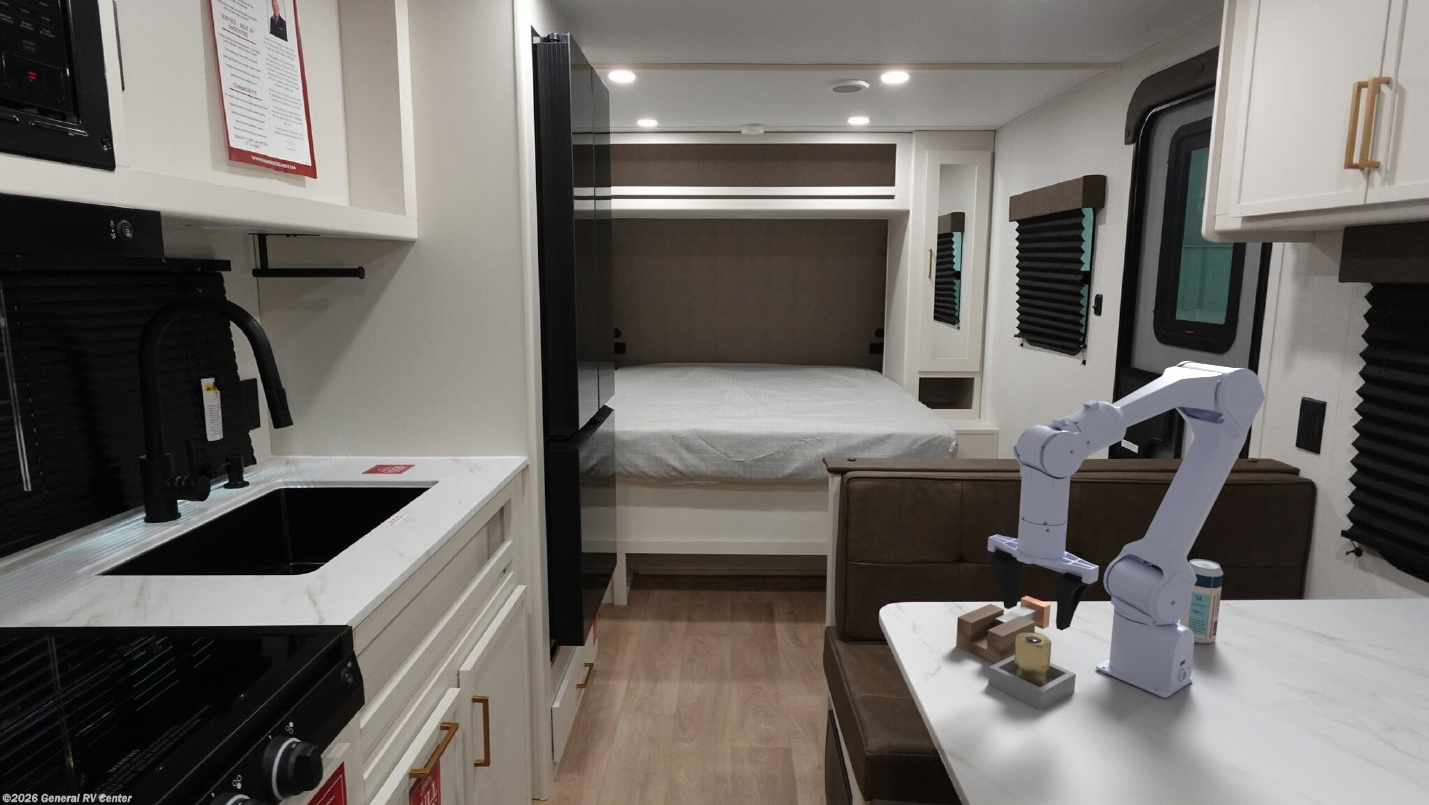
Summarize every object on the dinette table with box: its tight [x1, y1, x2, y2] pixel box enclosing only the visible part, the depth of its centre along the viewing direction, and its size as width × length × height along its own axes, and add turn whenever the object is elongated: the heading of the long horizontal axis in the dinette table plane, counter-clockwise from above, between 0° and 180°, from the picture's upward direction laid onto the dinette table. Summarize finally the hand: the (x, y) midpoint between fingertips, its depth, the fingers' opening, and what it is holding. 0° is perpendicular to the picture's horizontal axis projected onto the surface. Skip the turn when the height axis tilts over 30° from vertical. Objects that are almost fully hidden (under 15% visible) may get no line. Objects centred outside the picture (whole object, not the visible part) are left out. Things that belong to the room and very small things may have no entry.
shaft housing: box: [955, 603, 1036, 665], centre depth 113 cm, size 8×8×5 cm
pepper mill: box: [1014, 632, 1052, 687], centre depth 102 cm, size 4×4×6 cm
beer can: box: [1179, 558, 1224, 645], centre depth 116 cm, size 5×5×12 cm
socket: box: [987, 655, 1077, 711], centre depth 103 cm, size 8×8×2 cm
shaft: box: [995, 595, 1051, 630], centre depth 116 cm, size 4×10×4 cm, turn 125°
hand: (1036, 616), depth 101 cm, fingers open, 7 cm apart
